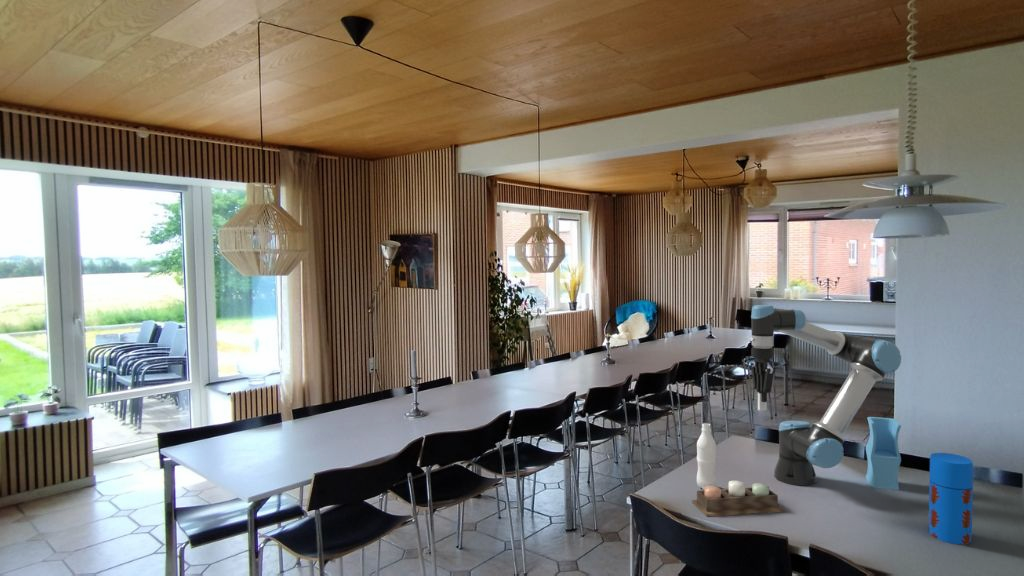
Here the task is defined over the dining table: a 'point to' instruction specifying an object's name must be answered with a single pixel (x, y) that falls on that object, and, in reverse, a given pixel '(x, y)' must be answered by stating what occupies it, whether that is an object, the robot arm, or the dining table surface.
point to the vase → (883, 453)
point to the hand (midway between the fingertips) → (762, 409)
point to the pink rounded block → (712, 492)
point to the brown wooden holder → (737, 503)
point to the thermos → (950, 498)
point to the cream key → (736, 489)
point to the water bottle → (706, 458)
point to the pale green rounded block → (760, 489)
